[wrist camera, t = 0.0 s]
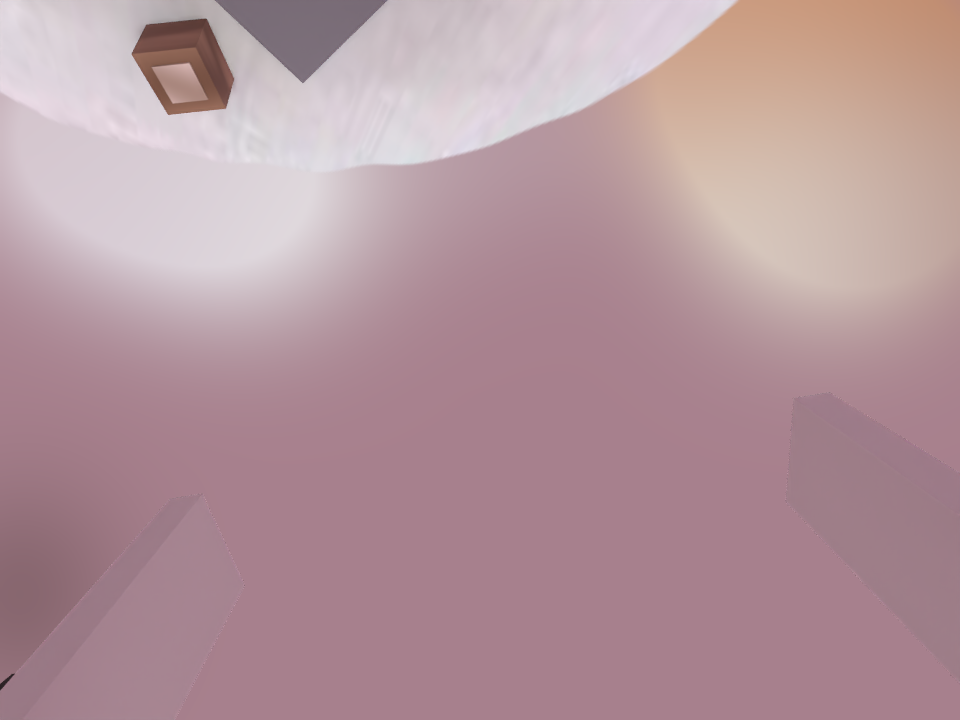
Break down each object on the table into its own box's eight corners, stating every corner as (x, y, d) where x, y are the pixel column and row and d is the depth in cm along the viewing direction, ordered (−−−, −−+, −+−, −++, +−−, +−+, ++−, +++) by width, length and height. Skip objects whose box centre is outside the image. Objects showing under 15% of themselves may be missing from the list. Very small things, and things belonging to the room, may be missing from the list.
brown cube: (146, 24, 33) (130, 55, 31) (206, 18, 33) (195, 48, 31) (180, 86, 37) (169, 118, 34) (235, 80, 37) (226, 111, 34)
